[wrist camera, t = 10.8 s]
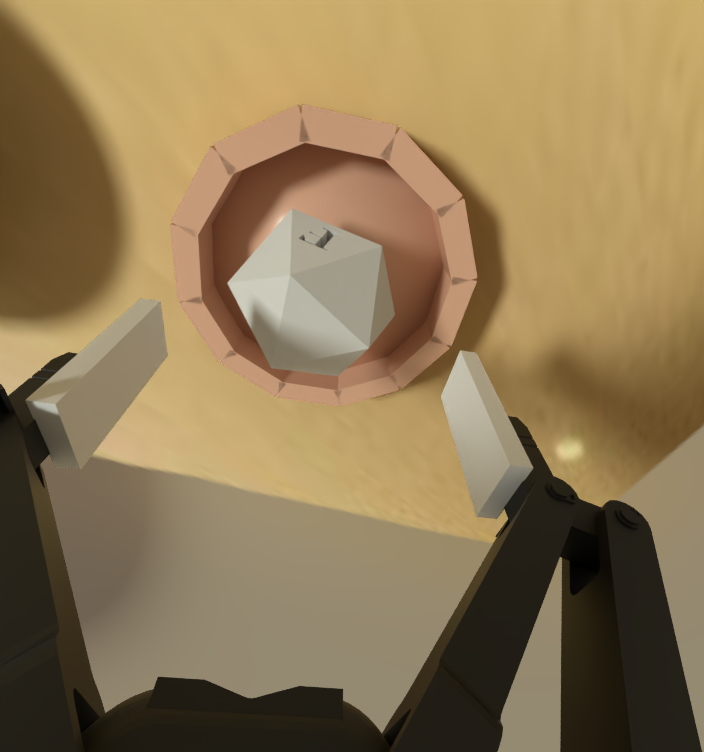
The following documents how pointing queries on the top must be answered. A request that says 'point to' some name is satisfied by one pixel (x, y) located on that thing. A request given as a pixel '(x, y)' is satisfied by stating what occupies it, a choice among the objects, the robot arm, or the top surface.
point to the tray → (341, 209)
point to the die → (314, 295)
